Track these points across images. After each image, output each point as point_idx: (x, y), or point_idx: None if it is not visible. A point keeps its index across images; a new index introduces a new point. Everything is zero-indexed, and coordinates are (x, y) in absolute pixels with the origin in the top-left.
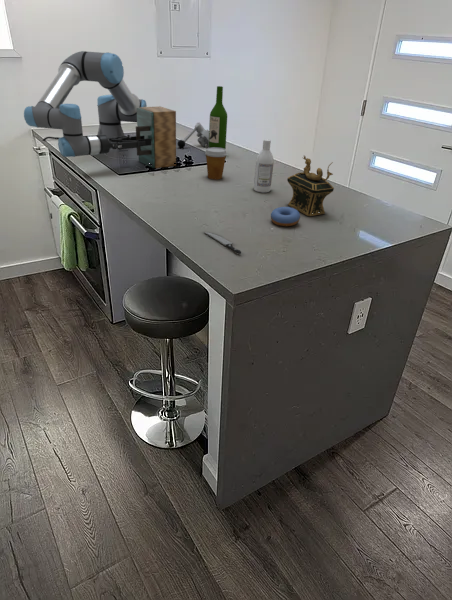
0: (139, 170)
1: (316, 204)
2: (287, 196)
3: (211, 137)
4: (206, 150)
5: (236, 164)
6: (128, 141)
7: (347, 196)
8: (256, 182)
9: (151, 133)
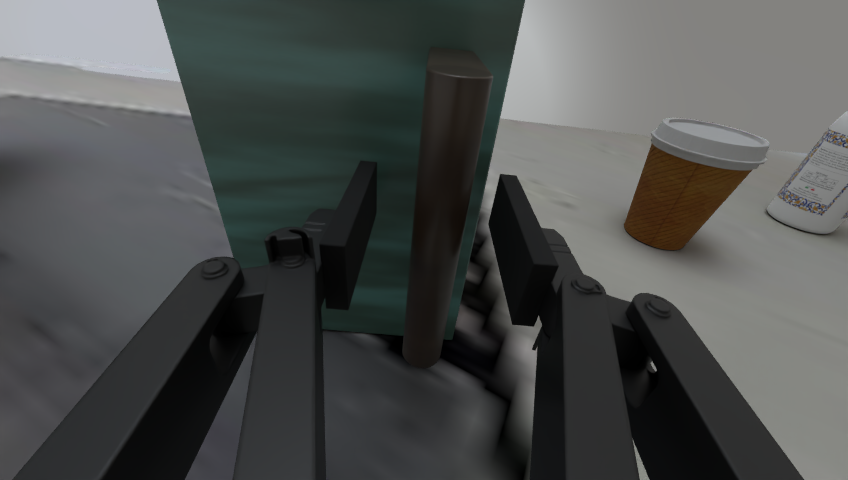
0: (456, 446)
1: None
2: None
3: None
4: (728, 147)
5: (499, 151)
6: (623, 419)
7: (784, 160)
8: (844, 210)
9: (488, 123)
